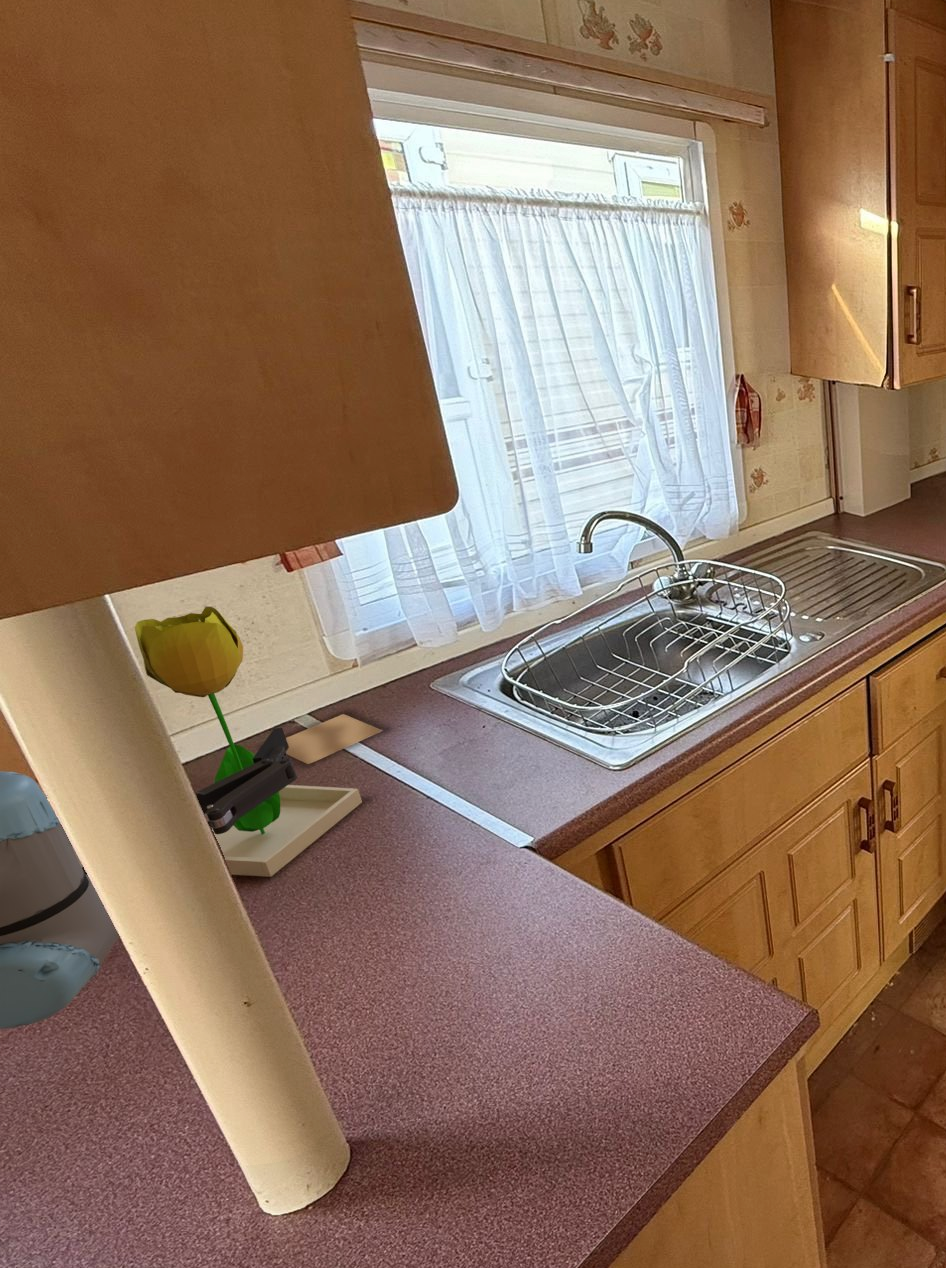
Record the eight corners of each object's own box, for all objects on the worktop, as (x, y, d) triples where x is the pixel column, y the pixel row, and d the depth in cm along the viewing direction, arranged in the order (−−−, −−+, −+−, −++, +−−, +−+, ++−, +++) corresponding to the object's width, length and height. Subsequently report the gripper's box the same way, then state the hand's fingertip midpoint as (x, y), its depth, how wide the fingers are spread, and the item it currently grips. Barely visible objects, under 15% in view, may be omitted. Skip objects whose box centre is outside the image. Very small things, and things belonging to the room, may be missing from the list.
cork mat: (309, 767, 119) (308, 764, 119) (268, 748, 123) (267, 745, 123) (384, 733, 128) (383, 730, 128) (344, 716, 132) (343, 713, 131)
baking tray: (153, 873, 100) (145, 855, 99) (258, 798, 113) (252, 782, 112) (272, 879, 99) (265, 862, 98) (363, 804, 112) (358, 788, 111)
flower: (307, 837, 105) (228, 618, 94) (220, 865, 100) (125, 638, 89) (301, 803, 111) (226, 594, 100) (219, 828, 106) (130, 611, 95)
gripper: (-62, 937, 75) (73, 798, 93) (288, 870, 84) (349, 755, 102) (-102, 871, 72) (45, 740, 90) (264, 808, 81) (332, 701, 99)
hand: (207, 748), depth 96 cm, fingers open, 13 cm apart
